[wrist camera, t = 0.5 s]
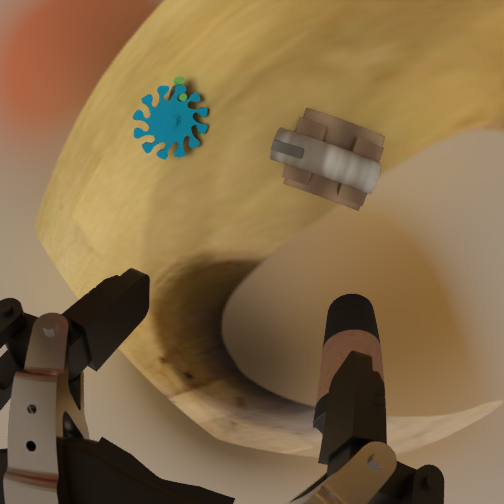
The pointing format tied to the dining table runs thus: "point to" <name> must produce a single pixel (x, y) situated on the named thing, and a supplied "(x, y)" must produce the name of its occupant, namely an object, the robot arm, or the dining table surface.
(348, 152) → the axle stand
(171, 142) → the gear
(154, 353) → the dining table surface
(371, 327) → the travel mug
